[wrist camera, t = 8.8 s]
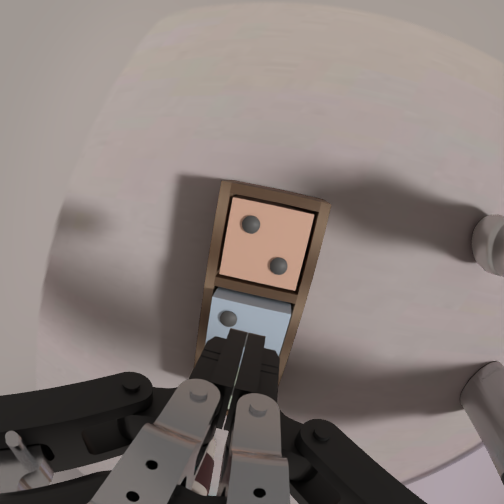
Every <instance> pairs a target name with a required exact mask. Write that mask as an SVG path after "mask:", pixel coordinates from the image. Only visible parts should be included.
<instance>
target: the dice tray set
mask: <svg viewBox="0 0 504 504" xmlns="http://www.w3.org/2000/svg"><path fill="white" fill-rule="evenodd" d="M237 195H242V196H247V197H252V198H257V199H262V200H267V201H271V202H276V203H281V204H285V205H290V206H294V207H299V208H303V209H307V210H311V211H312V212H313V214H314V218H313V223H312V227H311V231H310V235H309V239H308V243H307V247H306V251H305V255H304V259H303V263H302V267H301V271H300V275H299V278H298V282H297V286H296V290H295V291H294V290H289V289H284V288H280V287H275V286H271V285H266V284H262V283H257V282H253V281H248V280H244V279H239V278H235V277H231V276H226V275H222V274H219V273H220V267H221V261H222V255H223V249H224V244H225V238H226V232H227V227H228V221H229V216H230V210H231V205H232V200H233V197H235V196H237ZM330 208H331V204H330V203H328V202H326V201H325V200H323V199H319V198H315V197H311V196H306V195H302V194H298V193H293V192H289V191H284V190H280V189H275V188H270V187H265V186H260V185H256V184H250V183H245V182H240V181H235V180H227V181H221V187H220V192H219V198H218V203H217V209H216V215H215V221H214V227H213V233H212V239H211V245H210V251H209V258H208V264H207V271H206V278H205V284H204V292H203V299H202V306H201V313H200V321H199V329H198V337H197V345H196V354H195V363H194V368H195V365H196V363H197V361H198V359H199V357H200V356H201V353H202V351H203V349H204V347H205V343H206V336H207V329H208V322H209V316H210V309H211V302H212V296H213V295H214V293H215V291H216V290H217V288H218V287H222V288H227V289H231V290H235V291H239V292H244V293H248V294H253V295H257V296H262V297H266V298H271V299H275V300H280V301H285V302H289V303H291V317H290V321H289V324H288V327H287V331H286V334H285V337H284V341H283V344H282V347H281V350H280V354H279V358H280V364H279V375H278V376H279V379H278V386H279V383H280V380H281V377H282V374H283V371H284V368H285V366H286V363H287V360H288V357H289V354H290V351H291V348H292V345H293V342H294V338H295V335H296V332H297V329H298V326H299V323H300V319H301V316H302V313H303V309H304V306H305V303H306V299H307V296H308V293H309V289H310V286H311V282H312V279H313V275H314V271H315V268H316V264H317V260H318V257H319V253H320V249H321V245H322V241H323V237H324V233H325V229H326V225H327V221H328V217H329V213H330ZM228 411H229V409H227V412H226V415H228Z"/></svg>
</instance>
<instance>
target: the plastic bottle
mask: <svg viewBox="0 0 504 504" xmlns="http://www.w3.org/2000/svg"><path fill="white" fill-rule="evenodd" d="M472 251H473V255H474V258H475V260H476V262H477V263H478V264H479V265H480V266H481V267H482V268H483V269H484V270H485V271H486V272H488V273H491V274H494V275H498V276H503V277H504V216H502V215H488V216H486V217H484V218H483V219H482V220H481V221H480V222H479V223H478V224H477V225H476V227H475V229H474V232H473V236H472Z"/></svg>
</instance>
